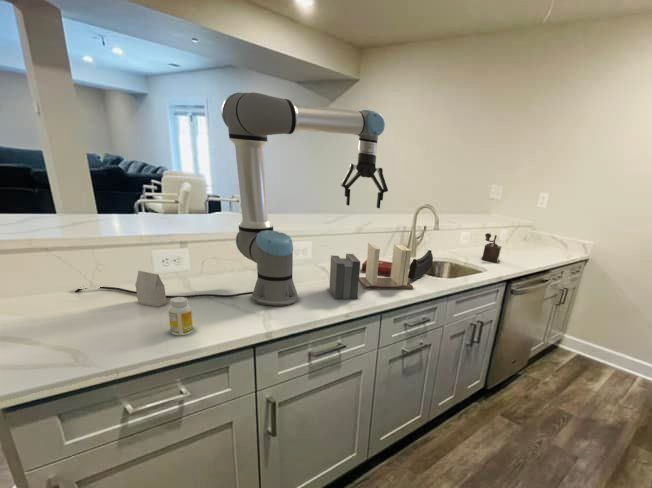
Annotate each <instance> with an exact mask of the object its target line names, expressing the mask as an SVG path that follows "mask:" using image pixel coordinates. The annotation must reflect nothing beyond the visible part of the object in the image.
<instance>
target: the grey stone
mask: <svg viewBox="0 0 652 488" xmlns="http://www.w3.org/2000/svg"><path fill="white" fill-rule="evenodd" d="M134 286H135V291H136V292H137V294H136V296H137V303H138V304H143V305H148V306H153V307H160V306H163V305H165V304H167V298H166V296H167V295H166V288H165V284H164V283H163V280H162V279H161V277H160V274H158V273H154V272H150V271H145V270H138V271H137V276H136V280H135V285H134Z"/></svg>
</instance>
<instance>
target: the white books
mask: <svg viewBox="0 0 652 488" xmlns="http://www.w3.org/2000/svg"><path fill="white" fill-rule="evenodd" d="M411 256H412V250H411V249H410V248H408V247H407V246H405V245H404V244H395V243H394V244H393V250H392V257H391V258H392V259H391V262H392V267H391V276H389V278H390V279H392V280H393V281H394V282H395V283H396V284H397V285H398V286H402V285H403V286H407V282H409V279H408V274H409V269H410V265H411Z"/></svg>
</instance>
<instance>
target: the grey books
mask: <svg viewBox="0 0 652 488" xmlns="http://www.w3.org/2000/svg"><path fill="white" fill-rule="evenodd" d="M329 268H330V269H329V288H328V289H329V291H330V293H331V294H332V296H333V298H334V300H358V299H359V298H358V297H359V285H360V281H359V277H360V272H361V261H360V259H359V258H358V257H356V255H355V254H354V253H346V254H345V258H343V257H341V258H340V256H339V255H330V267H329Z"/></svg>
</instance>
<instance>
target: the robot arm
mask: <svg viewBox="0 0 652 488" xmlns="http://www.w3.org/2000/svg"><path fill="white" fill-rule="evenodd" d="M220 111H221V112H220V113H221V119H222V121H223V123H224V124H225V126H226V127H227V130H228V131H227V132H228V139H229V140H230V141H231V143H232V144H234V147H235V148H234V149H235V158H236V167H237V169H236V170H237V178H238V187H239V199H240V207H241V216H242V217H241V219H242V220H241V221H239V222H238V232H237V233H236V236H235V245H236V247H237V250H238V252H240V253H241V255H242V256H244V257H245V258H247V259H248V260H250V261H252V262H254V263H255V264H256V267H257V268H256V269H257V270H256V272H257V277H256V278H257V279H256V282H255V284H254V288H253V291H246V292H241V293H235V294H234V293H233V294H216V293H215V294H214V293H200V294H190V295H189V294H188V295H187V294H186V295H166V299H172V298H175V297H184V298H187V299H190V298H200V297H201V298H202V297H215V298H216V297H217V298H234V297H235V298H236V297H239V296H248V295H252V300H253V302H254V303H256V304H259V305H261V306H268V307H284V306H291V305H293V304H296V302H297V301H298V297H299V296H298V295H299V294H298V291H297V289H296V285H295V282H294V279H293V272H294V271H293V265H294V263H293V262H294V259H293V258H294V256H293V255H294V245H293V244H294V243H293V239H292V237H291V236H289V234H287V233H285V232H279V231H277V230H274V224H273V223H272V222H271V221H270V220H269V211H268V209H269V208H268V196H267V184H266V170H265V167H266V166H265V155H264V154H265V153H264V147H265V146H266V145H267V144H268V136H273V135H293V134H294V133H295V132H307V133H323V134H325V133H326V134H341V135H342V134H343V135H354V136H357V137H358V150H357V151H358V154H357V162H356V163H357V164H353V163H349V167H348V170H347V172H346V173H345V175H344V177H343V179H342V181H341V182H340V186H341V187H342V188H343V189H344V197H345V198H346V201H345V204H346V206H350V202H351V189H350V188H351V186H352V185H354V183H356V181H357V180H358V179H359V178H360V177H361V178H368V179H371V180H372V181H373V183H374V185H375V186H376V188H377V189H378V192H377V196H376V197H377V198H376V208H377V209H381V202H382V201H383V200H384V194H385V193H387V192H388V191H389V189H388V186H387V183H386V179H385V177H384V174H383V170H384V169H383V168H382V167H376V165H377V155H376V154H377V151H378V139H379V136H381V135H382V134H383V132H384V131H385V128H386V127H385V125H386V123H385V118H384V116H383V115H382V114H381V113H380V112H377V111H375V110H369V109H362V110H353V109H345V108H335V107H327V106H318V105H317V106H316V105H309V104H302V103H301V104H299V103H293V101H292V100H291V99H288V98H282V97H276V96H272V95H268V94H265V93H261V92H254V91H253V92H235V93H233V94H230V95H229V96H227V97H225V99H224V101H223V102H222V105H221V110H220ZM355 170H356V171H357V172H356V173H355V174H354V176H352V177H351V175H352V174H353V171H355ZM375 173H377V174H378V177H379V180H380V182H379V180H378V179H377V177H376V175H375ZM350 177H351V179H350ZM349 179H350V180H349ZM348 180H349V181H348ZM380 183H381V184H380ZM86 289H87V288H85V289H79V288H77V289H75V291H74V293H79V292H81V291H82V290H86ZM99 289H100V290H112V291H113V290H114V291H120V292H124V293H129V294H135V295H137V292H136V290H130V289H125V288H121V287H114V286H103V287H100V288H99Z"/></svg>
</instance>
